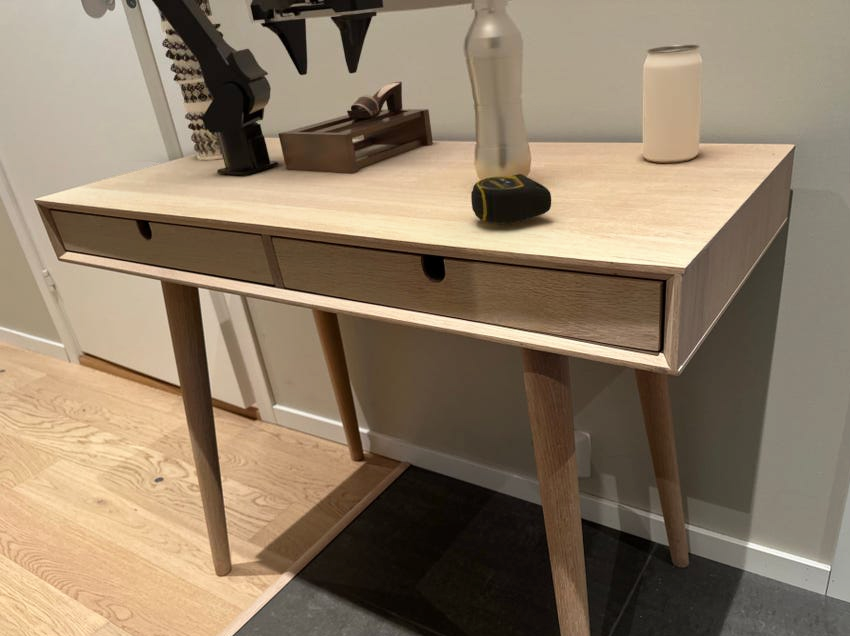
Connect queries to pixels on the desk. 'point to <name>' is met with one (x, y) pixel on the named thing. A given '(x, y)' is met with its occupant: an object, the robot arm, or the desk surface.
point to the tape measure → (509, 199)
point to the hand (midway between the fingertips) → (327, 73)
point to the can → (672, 103)
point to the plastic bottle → (497, 91)
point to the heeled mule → (378, 102)
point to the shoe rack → (335, 148)
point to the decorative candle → (192, 86)
